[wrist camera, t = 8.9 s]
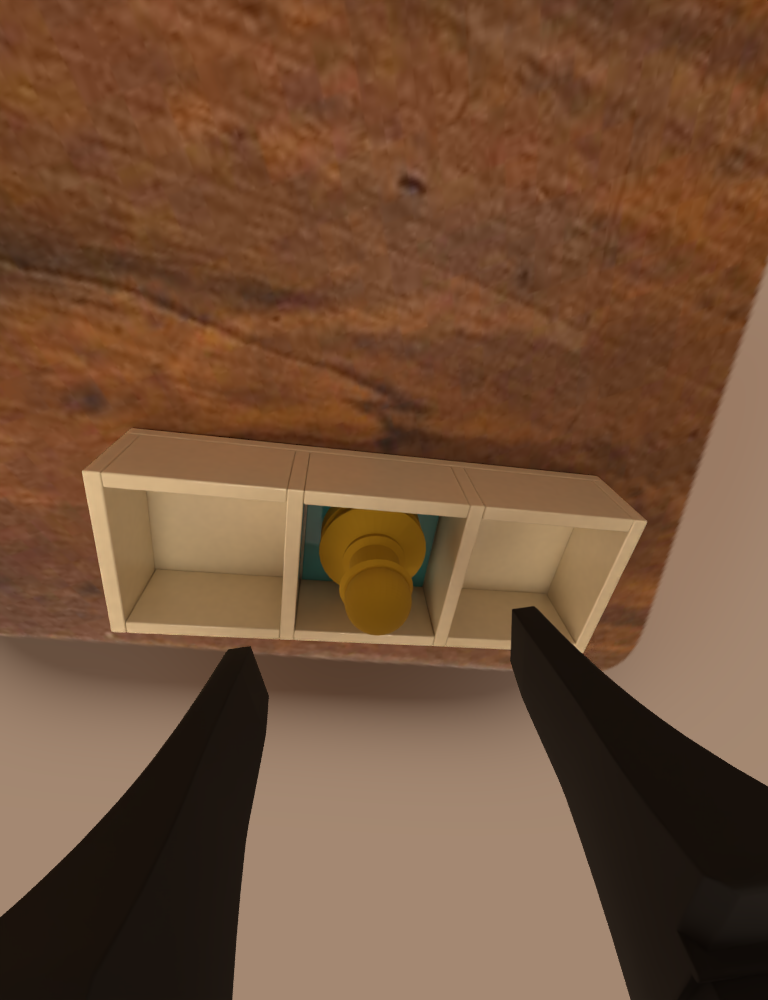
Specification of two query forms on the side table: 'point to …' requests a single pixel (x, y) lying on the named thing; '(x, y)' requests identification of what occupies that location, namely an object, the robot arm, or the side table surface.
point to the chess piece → (373, 564)
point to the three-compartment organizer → (297, 534)
